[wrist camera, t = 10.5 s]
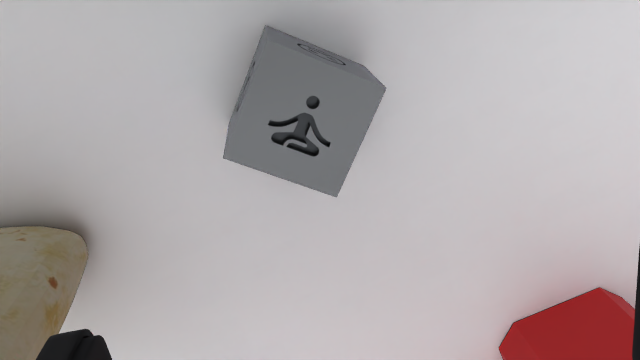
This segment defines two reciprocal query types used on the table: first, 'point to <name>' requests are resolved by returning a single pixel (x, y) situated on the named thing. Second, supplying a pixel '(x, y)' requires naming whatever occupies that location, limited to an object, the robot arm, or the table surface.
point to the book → (575, 331)
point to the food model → (36, 286)
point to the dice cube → (302, 113)
